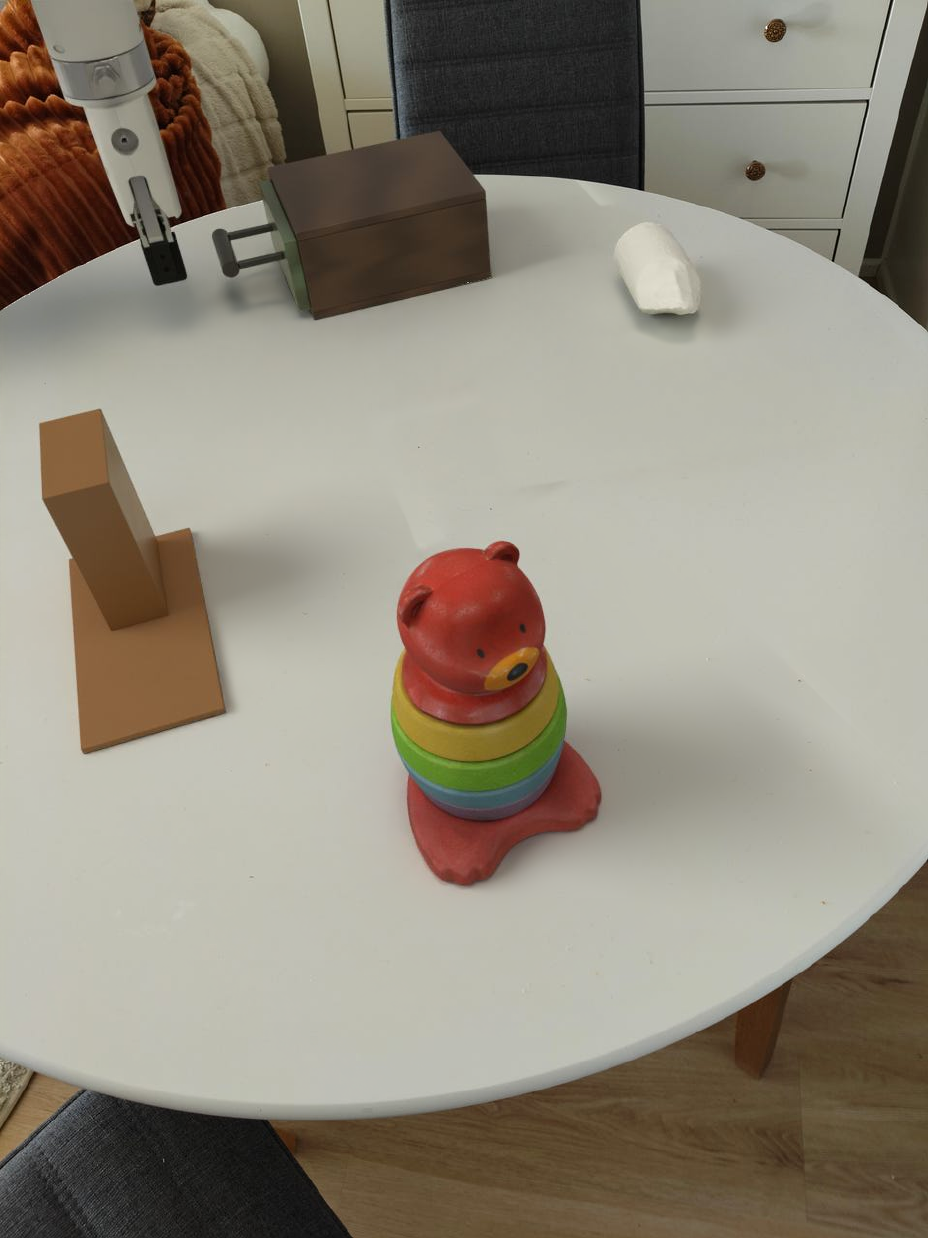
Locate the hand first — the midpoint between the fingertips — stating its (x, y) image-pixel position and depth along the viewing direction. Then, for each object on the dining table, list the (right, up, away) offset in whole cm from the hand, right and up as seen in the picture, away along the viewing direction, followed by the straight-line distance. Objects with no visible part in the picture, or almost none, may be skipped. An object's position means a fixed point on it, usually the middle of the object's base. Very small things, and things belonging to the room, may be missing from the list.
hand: (170, 278), depth 94 cm
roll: (+46, -4, -4) cm, 46 cm away
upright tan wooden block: (+4, -30, -23) cm, 38 cm away
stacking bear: (+29, -42, -36) cm, 63 cm away
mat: (+6, -33, -26) cm, 42 cm away
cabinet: (+20, +3, +6) cm, 21 cm away
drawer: (+15, +3, +4) cm, 16 cm away
